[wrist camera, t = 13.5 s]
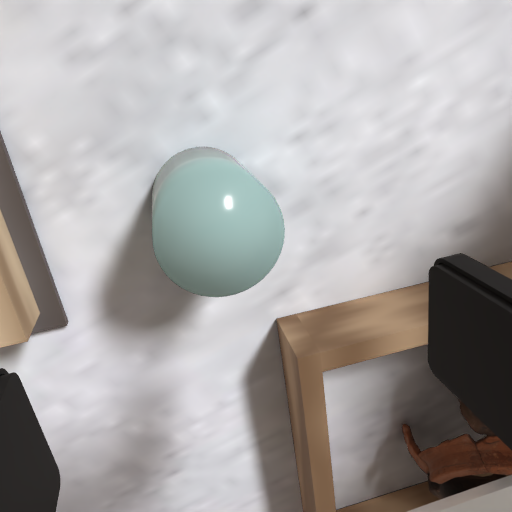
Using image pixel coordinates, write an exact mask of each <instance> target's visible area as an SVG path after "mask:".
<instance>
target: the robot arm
mask: <svg viewBox="0 0 512 512" xmlns="http://www.w3.org/2000/svg"><path fill="white" fill-rule="evenodd" d="M428 363H429V367H430V369H431V371H432V372H433V374H434V375H435V376H436V377H437V378H438V379H439V380H440V381H441V382H442V383H443V384H444V385H445V386H446V387H447V388H448V389H449V390H450V391H451V392H452V393H453V394H455V395H456V396H457V397H458V398H459V399H460V400H461V401H462V402H463V403H464V404H465V405H466V406H467V407H468V408H469V409H470V410H471V411H472V412H473V413H474V414H475V415H476V416H477V417H478V418H479V419H480V420H481V421H482V422H483V423H484V424H485V425H486V426H487V427H488V428H489V429H490V430H491V431H492V432H493V433H494V434H495V435H496V436H497V437H498V438H499V439H500V440H501V441H502V442H503V443H504V444H505V445H507V446H508V447H509V448H510V449H511V450H512V279H510V278H508V277H506V276H504V275H502V274H500V273H499V272H497V271H495V270H493V269H491V268H489V267H487V266H485V265H483V264H482V263H480V262H478V261H476V260H474V259H472V258H470V257H468V256H466V255H465V254H461V253H460V254H455V255H451V256H447V257H443V258H439V259H437V260H436V261H435V263H434V266H432V267H431V268H430V270H429V301H428ZM59 490H60V474H59V469H58V467H57V464H56V462H55V460H54V457H53V455H52V453H51V450H50V448H49V446H48V443H47V441H46V439H45V436H44V434H43V432H42V429H41V427H40V425H39V422H38V420H37V418H36V415H35V413H34V411H33V408H32V406H31V404H30V401H29V399H28V397H27V394H26V392H25V390H24V387H23V385H22V383H21V380H20V378H19V376H18V375H17V374H16V373H10V374H8V372H7V371H6V370H5V369H3V368H1V369H0V512H56V507H57V501H58V496H59ZM407 512H512V475H510V476H507V477H504V478H501V479H498V480H495V481H492V482H489V483H487V484H484V485H481V486H478V487H475V488H472V489H469V490H467V491H464V492H461V493H458V494H455V495H452V496H449V497H446V498H444V499H441V500H438V501H435V502H432V503H429V504H427V505H424V506H421V507H418V508H415V509H413V510H410V511H407Z"/></svg>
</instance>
